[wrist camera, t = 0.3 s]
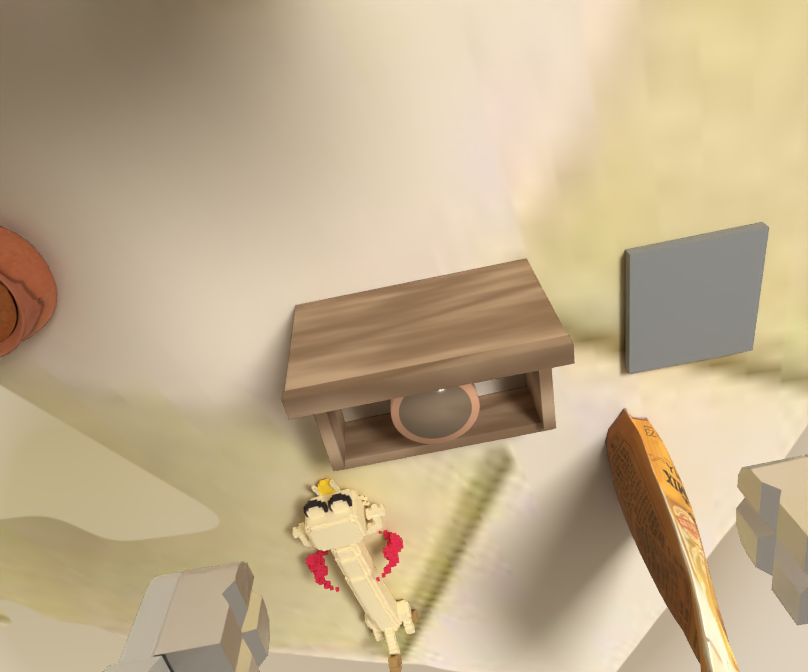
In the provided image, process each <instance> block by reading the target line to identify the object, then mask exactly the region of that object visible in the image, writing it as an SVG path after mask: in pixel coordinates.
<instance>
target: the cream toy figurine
mask: <svg viewBox="0 0 808 672" xmlns="http://www.w3.org/2000/svg"><path fill="white" fill-rule="evenodd" d="M312 490H313V492H315V493H316V494H317V495H319V496H318V497H315V498H312V499H310V501H308V502H307V504H306V506H305V507H304V513H305V522H303V523H299V526H297V527H293V537H294V538H300V540H301V541H302V543H303V545H304V546H308V547H313V546H315V548H318V550H319V551H317V553H316V554H311V555H309V558H306V564H307V566H309V569H310V571H311V572H313V573H314V577H315V582H316V583H318V584H319V585H322V584H324V588H325V589H328V588H330V590H334V587H333V585H332V586H331V582H330V581H326V580H325V578H324V576H326V575H328V567H327V566H325V559H324V558H323V557H322V556H323V555H327V554H328V550H330V549H331V552H332V553H333V555H334V557H335V561H336V562H337V564H338V566H339V567H340V569H341V571H342V572H343V574H344V576H345V580H346V581H347V583H348V585H349V586H350V588H351V590H352V591H353V593H354V595H355V596H356V598H357V600H358V601H359V603H360V604H361V606H362V608H363V609H364V611H365V623H366V624H367V626H368V627H369V629H370V631H371V632H373V633H374V635H375V639H376V640H377V642H378V641H382V640H385V636H384V634H385V635H386V639H387V643H388V647H389V651H390V655H391V657H389V659H388V662H389V668H390V672H401V668H402V666H401V664H402V659H401V655H400V651H399V647H398V643H397V639H396V635H395V631H397V629H398V628H399V626H400V625H404V627H405V631H406V633H407V634H411V633H415V628H414V622H418V621H419V619H418V613H417V611H416V610H415V611H412V610H411V607H410V605H409V603H408V602H406V601H405V600H401V601H397V602H396V600H395V599H393V597H392V595H391V593H390V591H389V589H388V588H387V587H386V586H385V584H384V582H383V580H382V579H381V577H380V575H379V573H378V571H377V569H376V568H375V566H374V564H373V562H372V558H371V556H370V554H369V552H368V551H367V549H366V547H365V545H364V543H363V539H364V536H367V535H368V534H372V533H376V530H380V529H381V527H383V521H382V519H381V517H382V516H385V507H384V505H379V506H378V505H377V504H373V505H371V508H367V509H365V507H364V506H365V505H367V507H369V506H370V502H366V501H368V498H367V497H364V496H359V495H358V493H357V491H355V492H354V490H350V488H349V489H345V490H340V488H339V487H338V485H336V483H335V482H334V481H333V480H329V478H328V479H325V480H321V481H320V483H318V488H317V487H315V485H313V486H312ZM361 500H364V501H363V502H362V501H361ZM365 510H366V518H367V520H370V519H373V520H372V523H368V524H367V526H366V519H365ZM378 533H379V534H381V533H382V532H381V531H379V532H378ZM384 538H385V540H387V539H389V540H388V541H387V546H385V548H383V553H384V557H385V558H386V559H387V560H389V564H388V565H386V567H384V572H385V573H382V577H386V575H385V574H388V573H391V567H394V566H396V563H399V557H398V553H397V552H401V549H402V548H403V540H402V538H401V537H400V536H399V535H396V533H392V532H387V530H385V531H384ZM320 550H321V551H320ZM335 589H336V592H338V591H339V587H335Z"/></svg>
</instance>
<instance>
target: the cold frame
mask: <svg viewBox="0 0 808 672" xmlns="http://www.w3.org/2000/svg"><path fill="white" fill-rule="evenodd" d="M569 364H574V344H573V341H572V340H571V338H570V336H569V335H567V334H566V332H565V330H564V328H563V326H562V324H561V322H560V320H559V319H558V317H557V315H556V313H555V311H554V309H553V307H552V305H551V304H550V302H549V300H548V298H547V296H546V294H545V292H544V290H543V289H542V287H541V285H540V283H539V281H538V279H537V277H536V275H535V274H534V272H533V270H532V268H531V266H530V264H529V262H528V260H527V259H522V260H517V261H512V262H507V263H502V264H497V265H492V266H487V267H482V268H477V269H472V270H468V271H463V272H458V273H453V274H448V275H443V276H438V277H433V278H428V279H423V280H418V281H413V282H408V283H403V284H398V285H393V286H389V287H384V288H379V289H374V290H369V291H364V292H359V293H354V294H349V295H344V296H339V297H334V298H329V299H324V300H319V301H314V302H309V303H305V304H300V305H296V306H295V314H294V322H293V330H292V338H291V345H290V353H289V361H288V369H287V377H286V385H285V391H283V394H282V403H283V406H284V408H285V411H286V414H287V416H288V419H293V418H298V417H303V416H308V415H313V414H314V416H315V419H316V422H317V425H318V428H319V431H320V434H321V436H322V439H323V442H324V445H325V448H326V451H327V454H328V457H329V460H330V463H331V465H332V468H333V471H338V470H344V469H349V468H354V467H359V466H364V465H370V464H375V463H380V462H385V461H390V460H396V459H401V458H406V457H411V456H416V455H422V454H427V453H432V452H437V451H442V450H448V449H453V448H458V447H463V446H468V445H474V444H479V443H484V442H489V441H494V440H500V439H505V438H510V437H515V436H520V435H526V434H531V433H536V432H541V431H546V430H552V429H554V428H556V421H555V408H554V395H553V381H552V368H553V367H558V366H564V365H569ZM523 373H526V380H527V387H524V388H519V389H514V390H509V391H503V392H498V393H493V394H488V395H483V396H478V399H479V404H480V408H479V414H478V417H477V419H476V421H475V423H474V424H473V425H472V427H471V428H470V429H469V430H468V431H467V432H465V433H464V434H463V435H461V436H459V437H458V438H456V439H454V440H451V441H448V442H444V443H438V444H424V443H419V442H415V441H413V440H410V439H408V438H407V437H405V436H404V435H402V434H401V433H400V432H399V431H398V430H397V429H396V427H395V425H394V424H393V421H392V417H391V414H385V415H380V416H375V417H370V418H365V419H360V420H355V421H350V422H345V421H344V418H343V414H342V411H341V409H344V408H349V407H354V406H359V405H364V404H370V403H375V402H380V401H385V400H390V399H395V398H400V397H405V396H410V395H415V394H421V393H426V392H431V391H436V390H441V389H446V388H451V387H456V386H461V385H467V384H472V383H477V382H482V381H487V380H492V379H497V378H502V377H507V376H513V375H518V374H523Z"/></svg>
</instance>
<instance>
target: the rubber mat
mask: <svg viewBox="0 0 808 672" xmlns="http://www.w3.org/2000/svg"><path fill="white" fill-rule="evenodd" d="M768 232H769V227H768V226H767V225H766V224H764V223H763V222H760V223H755V224H750V225H745V226H741V227H736V228H731V229H726V230H721V231H716V232H711V233H706V234H701V235H696V236H691V237H686V238H681V239H676V240H671V241H666V242H661V243H656V244H651V245H646V246H641V247H636V248H631V249H627V250H626V287H625V368H626V370H627V371H628V373H629V374H633V373H638V372H643V371H649V370H654V369H659V368H664V367H669V366H674V365H679V364H685V363H690V362H695V361H700V360H705V359H710V358H715V357H721V356H726V355H731V354H736V353H741V352H746V351H751V350H753V343H754V336H755V328H756V321H757V313H758V306H759V299H760V291H761V284H762V276H763V269H764V261H765V254H766V247H767V239H768Z"/></svg>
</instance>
